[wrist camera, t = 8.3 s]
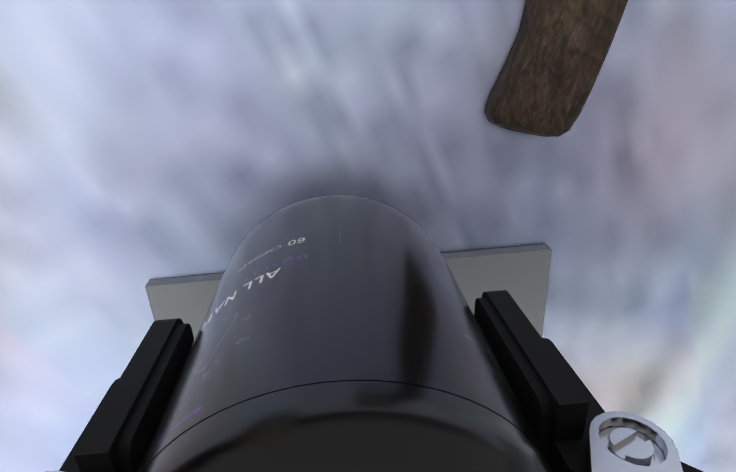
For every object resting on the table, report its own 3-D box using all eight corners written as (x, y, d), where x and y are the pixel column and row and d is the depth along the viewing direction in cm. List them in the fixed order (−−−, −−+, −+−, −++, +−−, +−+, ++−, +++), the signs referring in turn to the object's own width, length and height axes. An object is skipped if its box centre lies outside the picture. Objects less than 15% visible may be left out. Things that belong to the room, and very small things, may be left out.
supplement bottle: (228, 173, 13) (-408, 1079, 2) (467, 204, 14) (1079, 896, 3) (218, 375, 15) (-54, 1260, 4) (420, 389, 16) (629, 1134, 5)
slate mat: (545, 243, 20) (551, 249, 20) (517, 508, 27) (521, 517, 27) (150, 279, 19) (145, 286, 19) (222, 546, 26) (220, 557, 25)
